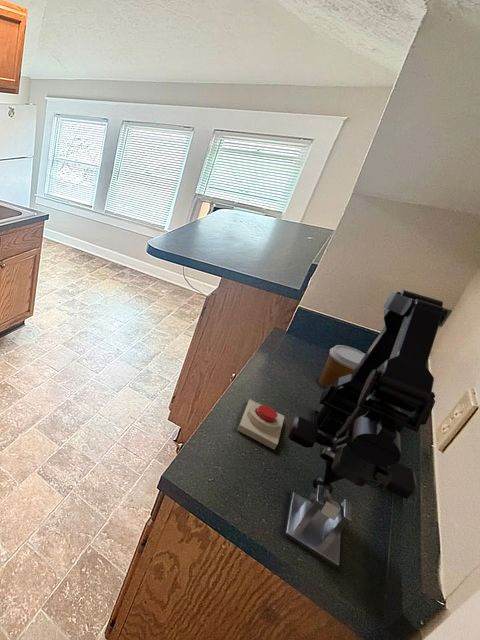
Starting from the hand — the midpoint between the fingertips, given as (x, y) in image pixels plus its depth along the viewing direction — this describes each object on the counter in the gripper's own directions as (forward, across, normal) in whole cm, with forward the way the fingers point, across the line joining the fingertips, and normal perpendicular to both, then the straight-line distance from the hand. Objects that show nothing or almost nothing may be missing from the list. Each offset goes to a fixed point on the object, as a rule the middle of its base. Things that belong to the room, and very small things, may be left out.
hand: (326, 480), depth 77 cm
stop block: (+5, -12, +13) cm, 18 cm away
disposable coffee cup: (+5, +1, +47) cm, 47 cm away
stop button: (+1, -12, +13) cm, 18 cm away
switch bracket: (+5, 0, -9) cm, 10 cm away
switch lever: (+1, 0, -5) cm, 5 cm away
